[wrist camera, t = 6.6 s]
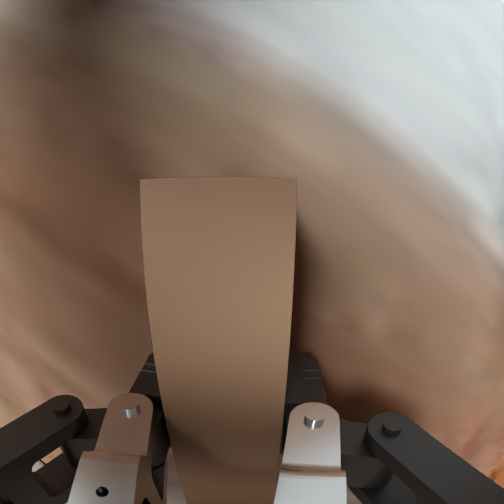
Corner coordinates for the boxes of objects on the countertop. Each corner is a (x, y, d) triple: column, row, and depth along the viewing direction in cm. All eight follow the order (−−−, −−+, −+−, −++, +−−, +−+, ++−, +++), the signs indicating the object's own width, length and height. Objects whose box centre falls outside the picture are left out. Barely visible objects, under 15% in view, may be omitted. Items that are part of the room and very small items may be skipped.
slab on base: (63, 186, 11) (-51, 201, 5) (421, 189, 10) (536, 204, 5) (113, 442, 14) (75, 520, 8) (367, 451, 13) (395, 537, 8)
